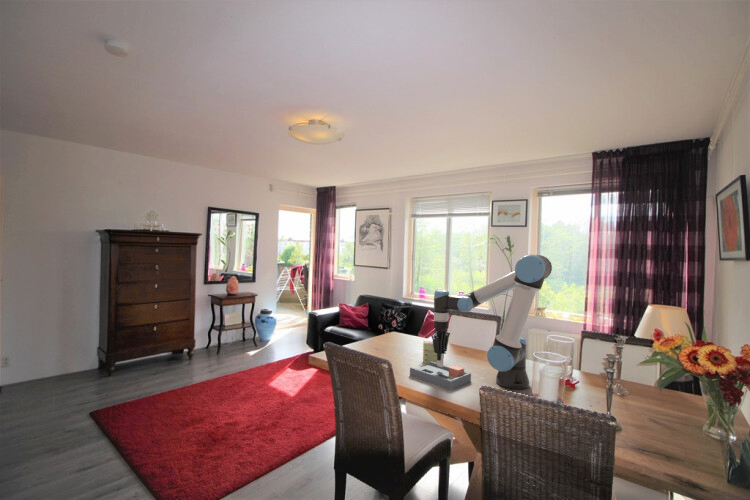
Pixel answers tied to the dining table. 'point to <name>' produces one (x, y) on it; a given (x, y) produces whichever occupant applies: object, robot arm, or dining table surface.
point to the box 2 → (439, 376)
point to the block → (456, 371)
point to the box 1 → (429, 352)
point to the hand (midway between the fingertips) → (440, 366)
